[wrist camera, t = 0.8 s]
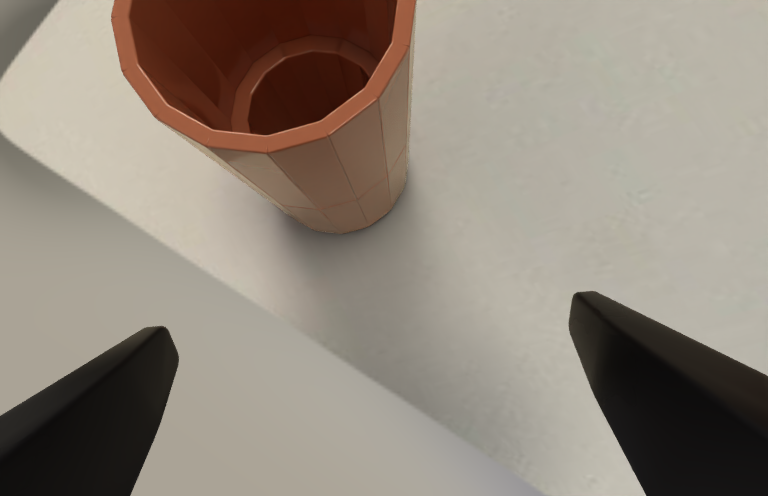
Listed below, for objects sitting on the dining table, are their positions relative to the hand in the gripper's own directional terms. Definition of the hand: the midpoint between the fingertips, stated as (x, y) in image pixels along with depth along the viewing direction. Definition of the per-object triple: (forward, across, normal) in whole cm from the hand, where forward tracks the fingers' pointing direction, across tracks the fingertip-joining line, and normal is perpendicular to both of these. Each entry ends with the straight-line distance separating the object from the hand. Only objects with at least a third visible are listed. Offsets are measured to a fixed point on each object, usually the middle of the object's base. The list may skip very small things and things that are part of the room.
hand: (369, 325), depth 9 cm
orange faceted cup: (+15, +2, +1) cm, 15 cm away
